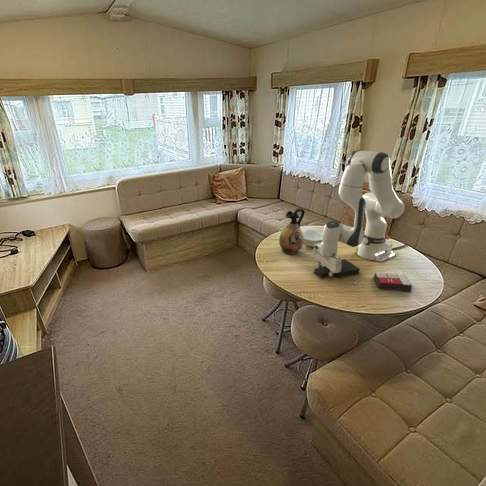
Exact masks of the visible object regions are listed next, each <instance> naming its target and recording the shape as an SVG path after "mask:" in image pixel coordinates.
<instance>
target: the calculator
mask: <svg viewBox="0 0 486 486" xmlns="http://www.w3.org/2000/svg"><path fill="white" fill-rule="evenodd" d="M373 275H374V276H373V279H374V282H375V283H376V285H377V287H378V289H380V290H396V291H402V292H411V291H412V288H413V285H412V283H411V281H410V280H409V279H408V277H407V276H406V275H405V274H401V273H392V272H391V273H390V272H387V273H386V272H375V273H374V274H373Z"/></svg>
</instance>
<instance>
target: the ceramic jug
mask: <svg viewBox="0 0 486 486" xmlns="http://www.w3.org/2000/svg"><path fill="white" fill-rule="evenodd" d="M299 212H300V215H299V214H298V213H299ZM304 216H305V210H304V209H303V207H302V208H301V207H298V208H296V209H295V210H294V212H292V211H291V210H289V211H287V212H286V213H285V218H287V219H290V221H289V222H288V223H287V225H286V226H285V227H284V228H283V229H282V231H281V232H280V234H279V239H278V244H279V246H280V248H281V249H282V252H283V253H285V254H287V255H295V254H297V253H298V251H299V250H301V249H302V247H303V245H304V244H303V243H304V236H303V233H302V229H301V223H302V221H303V219H304Z"/></svg>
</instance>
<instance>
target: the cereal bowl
mask: <svg viewBox="0 0 486 486" xmlns="http://www.w3.org/2000/svg"><path fill="white" fill-rule="evenodd" d="M301 231H302V230H301ZM302 233H303V236H304V243H303V245H305V246H307V247H310V248H314V245H315V244H319V243H321V242H322V233H323V231H322V232H321V231H319V230H313V229H307V230H303V231H302Z"/></svg>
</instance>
